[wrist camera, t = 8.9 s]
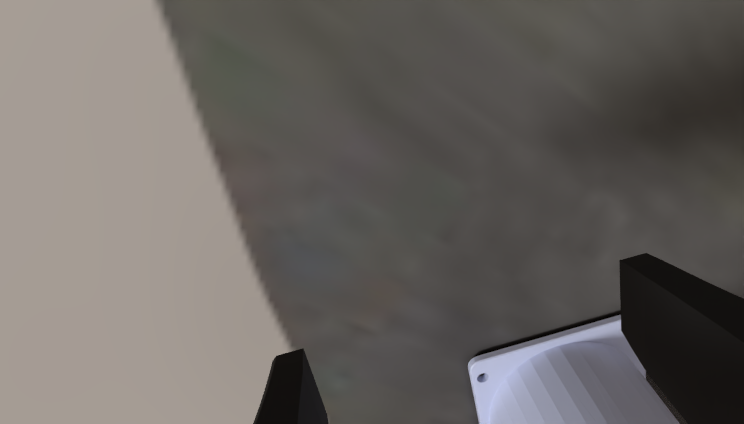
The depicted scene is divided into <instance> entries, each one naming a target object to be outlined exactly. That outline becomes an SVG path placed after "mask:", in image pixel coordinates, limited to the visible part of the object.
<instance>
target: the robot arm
mask: <svg viewBox="0 0 744 424" xmlns="http://www.w3.org/2000/svg"><path fill="white" fill-rule="evenodd" d="M620 299H621V315H617V316H614V317H610V318H607V319H603V320H600V321H596V322H593V323H590V324H586V325H583V326H579V327H576V328H572V329H569V330H565V331H562V332H558V333H555V334H551V335H548V336H545V337H541V338H538V339H534V340H531V341H527V342H524V343H520V344H517V345H513V346H510V347H506V348H503V349H499V350H496V351H493V352H489V353H486V354H482V355H479V356H476V357H474V358H472V359H471V360H470V361H469V363H468V370H469V375H470V380H471V385H472V390H473V395H474V400H475V405H476V410H477V415H478V420H479V424H680V423H679V422H678V421H677V419H676V418H675V417H674V415H673V414H672V413H671V412H670V410H669V409H668V408H667V406H666V405H665V404H664V402H663V401H662V400H661V399H660V397H659V396H658V395H657V393H656V392H655V391H654V389H653V388H652V387H651V386H650V384H649V383H648V382H647V380H646V371H647V373H648V374H649V375H650V377H651V378H652V379H653V380H654V382H655V383H656V384H657V385H658V387H659V388H660V389H661V390H662V392H663V393H664V394H665V395H666V397H667V398H668V399H669V400H670V402H671V403H672V404H673V405H674V407H675V408H676V409H677V410H678V412H679V413H680V414H681V415H682V416H683V418H684V419H685V420H686V421H687V423H688V424H744V299H743V298H741V297H738V296H736V295H734V294H732V293H729V292H727V291H725V290H723V289H721V288H719V287H716V286H714V285H712V284H710V283H708V282H706V281H704V280H702V279H700V278H698V277H696V276H693V275H691V274H689V273H687V272H685V271H683V270H681V269H679V268H677V267H675V266H673V265H671V264H669V263H667V262H664V261H662V260H660V259H658V258H656V257H654V256H651V255H649V254H647V253H645V254H641V255H637V256H634V257H630V258H627V259H623V260H620ZM483 373H485V374H484V375H482V376H479V375H480V374H483ZM253 424H328V418H327V413H326V410H325V407H324V405H323V402H322V399H321V396H320V394H319V391H318V388H317V385H316V382H315V380H314V377H313V374H312V371H311V368H310V366H309V363H308V360H307V357H306V355H305V352H304V349H300V350H296V351H292V352H289V353H285V354H282V355H278V356H276V357H275V359H274V360H273V362H272V366H271V370H270V374H269V377H268V381H267V384H266V388H265V391H264V394H263V398H262V400H261V404H260V407H259V409H258V412H257V415H256V418H255V421H254V423H253Z"/></svg>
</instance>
